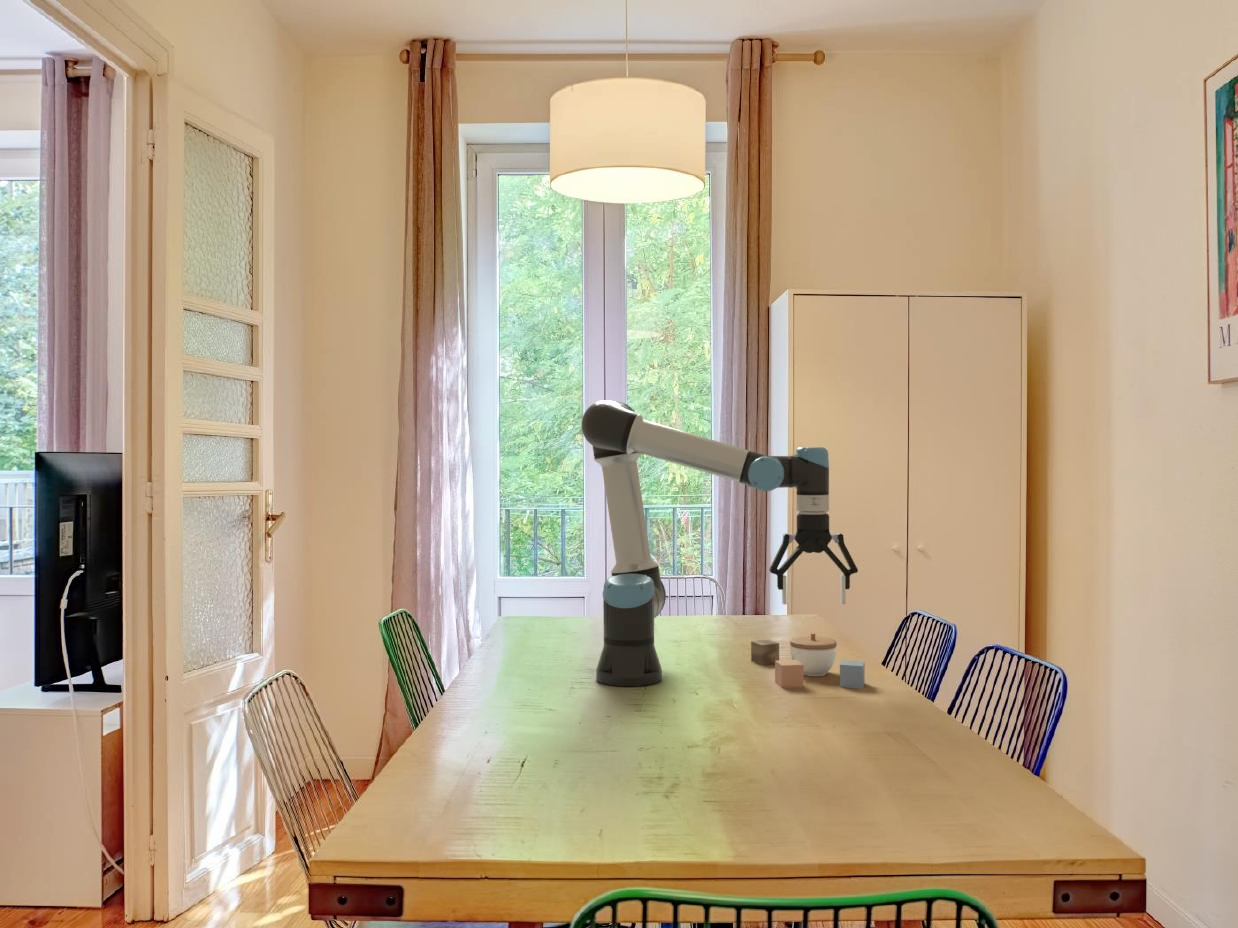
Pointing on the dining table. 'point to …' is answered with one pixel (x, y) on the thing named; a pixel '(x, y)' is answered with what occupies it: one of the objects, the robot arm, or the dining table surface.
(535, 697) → the dining table surface
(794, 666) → the cube terracotta
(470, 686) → the dining table surface
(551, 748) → the dining table surface
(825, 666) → the lidded jar
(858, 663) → the cube slate
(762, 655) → the cube walnut
